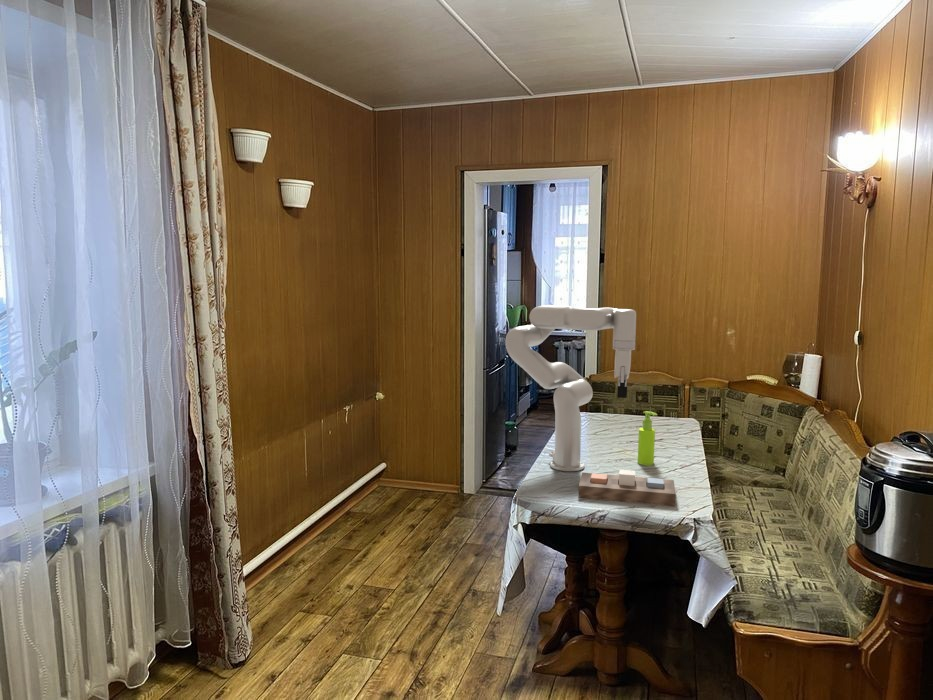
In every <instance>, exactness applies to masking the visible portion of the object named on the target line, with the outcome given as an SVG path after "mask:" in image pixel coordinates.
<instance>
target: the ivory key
mask: <svg viewBox="0 0 933 700" xmlns="http://www.w3.org/2000/svg"><path fill="white" fill-rule="evenodd" d="M618 475H619V485H627V486H635V477H636V470H630V469H619V472H618Z"/></svg>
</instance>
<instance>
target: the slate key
mask: <svg viewBox="0 0 933 700" xmlns="http://www.w3.org/2000/svg"><path fill="white" fill-rule="evenodd" d="M646 478H647V487H650V488H661V489H664V481H663V479H664V478H653V477H646Z"/></svg>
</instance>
